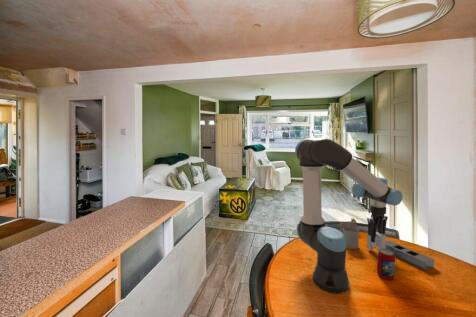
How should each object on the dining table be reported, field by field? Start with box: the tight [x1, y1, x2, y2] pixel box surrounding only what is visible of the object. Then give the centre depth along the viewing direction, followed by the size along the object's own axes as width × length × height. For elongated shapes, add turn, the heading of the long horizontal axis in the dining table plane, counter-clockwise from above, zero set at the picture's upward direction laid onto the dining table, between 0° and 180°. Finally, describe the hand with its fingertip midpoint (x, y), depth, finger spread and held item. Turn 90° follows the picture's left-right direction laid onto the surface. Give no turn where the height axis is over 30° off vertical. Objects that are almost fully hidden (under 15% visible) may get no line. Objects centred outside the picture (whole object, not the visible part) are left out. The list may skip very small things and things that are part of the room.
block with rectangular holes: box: [385, 240, 435, 271], centre depth 117 cm, size 7×22×4 cm, turn 20°
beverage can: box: [376, 249, 396, 280], centre depth 101 cm, size 7×7×12 cm
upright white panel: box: [366, 232, 387, 253], centre depth 121 cm, size 9×3×10 cm, turn 20°
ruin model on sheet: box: [338, 217, 358, 233], centre depth 148 cm, size 11×3×10 cm, turn 100°
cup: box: [343, 227, 360, 250], centre depth 131 cm, size 8×8×10 cm
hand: (375, 246), depth 121 cm, fingers closed on upright white panel, 3 cm apart
